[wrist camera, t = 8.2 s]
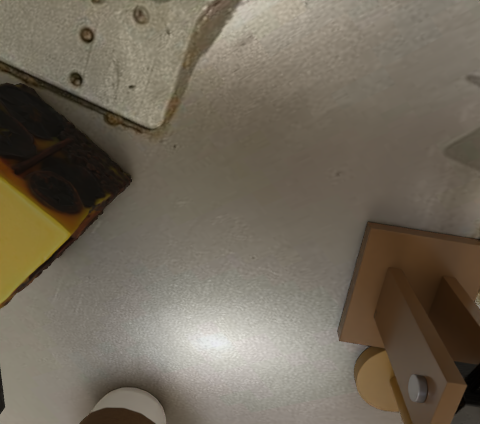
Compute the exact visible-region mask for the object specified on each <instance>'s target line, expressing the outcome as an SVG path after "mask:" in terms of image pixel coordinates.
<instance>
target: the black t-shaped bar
mask: <svg viewBox="0 0 480 424" xmlns="http://www.w3.org/2000/svg"><path fill="white" fill-rule="evenodd" d="M454 363H455V364H456V366H457V368H458V370H459V371H460V373H461V375H462V377H463V379H464V380H465V382H466V384H467V387H466V390H465V392H464V394H463V397H462V399H461V401H460V403H459V406H458V408H457V410H456V413H455V415H454V417H453V419H452V422H451V424H480V363H479V364H478V365H476V364H470V363H464V362H458V361H454Z"/></svg>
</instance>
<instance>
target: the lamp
mask: <svg viewBox="0 0 480 424" xmlns="http://www.w3.org/2000/svg"><path fill="white" fill-rule="evenodd" d="M354 378H355V382H356V386H357V390H358V392H359V394H360V396H361V397H362V398H363V399H364V400H365V401H366V402H367V403H368V404H370V405H371V406H373V407H375V408H377V409H380V410H384V411H391V412H399V411H400V414H401V417H402V420H403V423H404V424H413V423H412V420H411V418H410V415H409V412H408V410H407V407H406V404H405V401H404V399H403V396H402V393H401V390H400V388H399V385H398V382H397V379H396V377H395V374H394V371H393V369H392V366H391V363H390V360H389V358H388V355H387V352H386V349H385V348H379V347H373V346H371V347H369V348H368V349H366V350H365V351H364V352H363V353H362V354H361V355H360V356H359V358H358V360H357V361H356V364H355V368H354Z"/></svg>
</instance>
